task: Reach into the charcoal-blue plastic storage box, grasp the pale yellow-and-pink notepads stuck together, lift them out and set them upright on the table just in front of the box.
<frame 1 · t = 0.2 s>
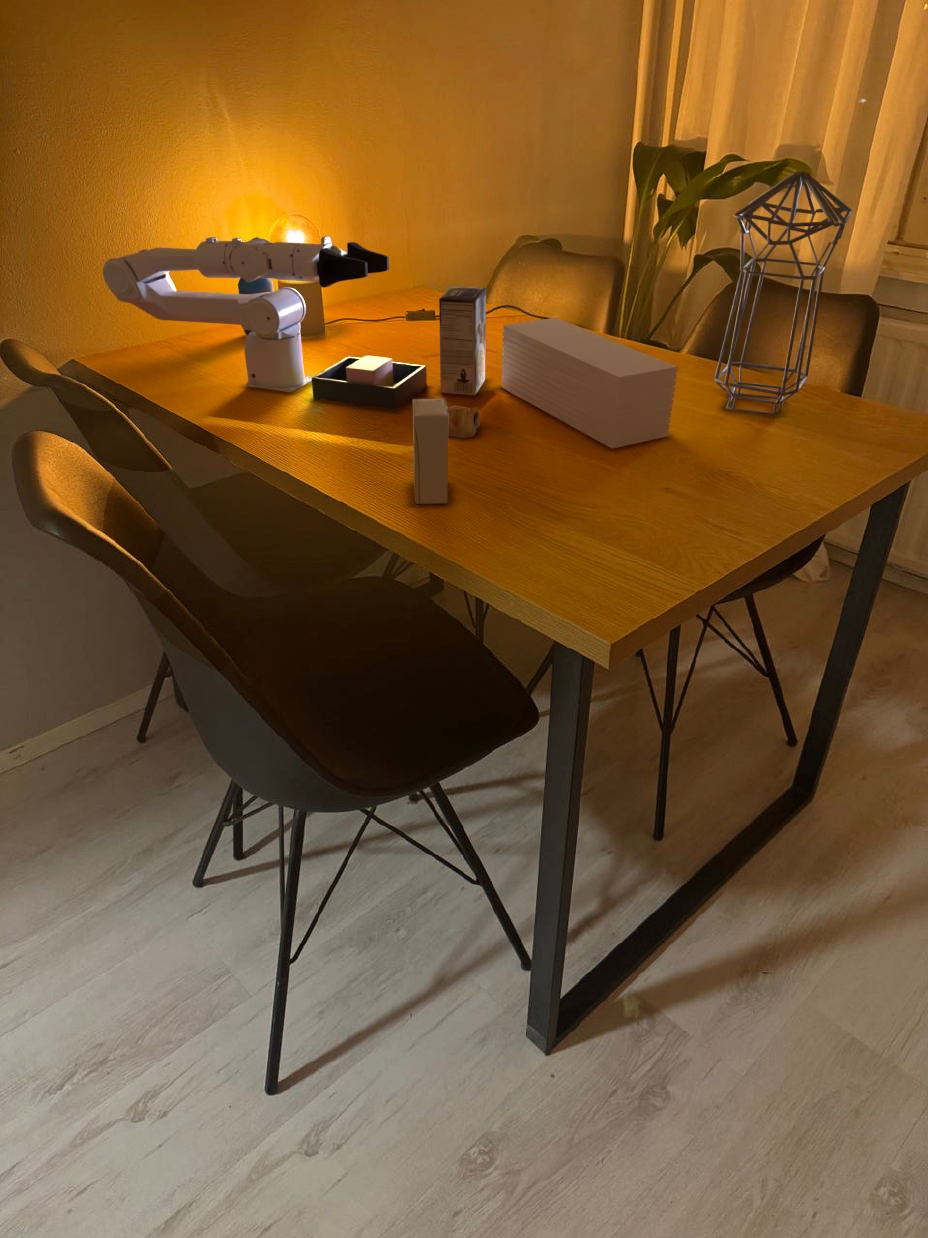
hand: (377, 266, 137), 21 cm above the table, tool horizontal, fingers open, 7 cm apart
notepads: (371, 391, 150), resting on storage box
cosmetic box: (431, 496, 116), on the table
stack of papers: (579, 411, 143), on the table
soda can: (261, 336, 181), on the table
pastry: (452, 431, 136), on the table
coffee box: (463, 388, 153), on the table
storage box: (371, 393, 150), on the table
geometric lantern: (756, 407, 145), on the table
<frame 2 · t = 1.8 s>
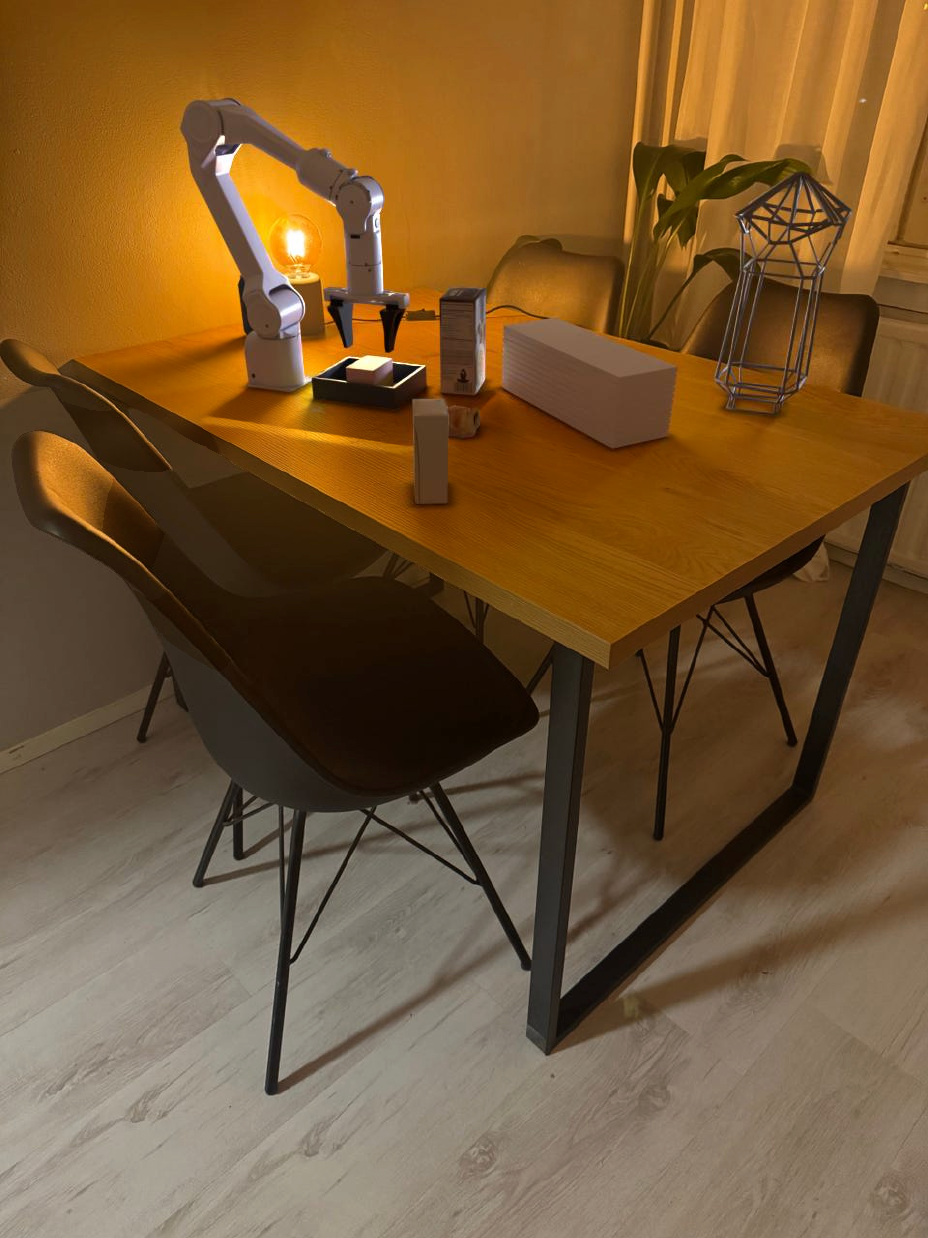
hand: (368, 348, 146), 8 cm above the table, tool pointing down, fingers open, 7 cm apart
nothing on the table moved.
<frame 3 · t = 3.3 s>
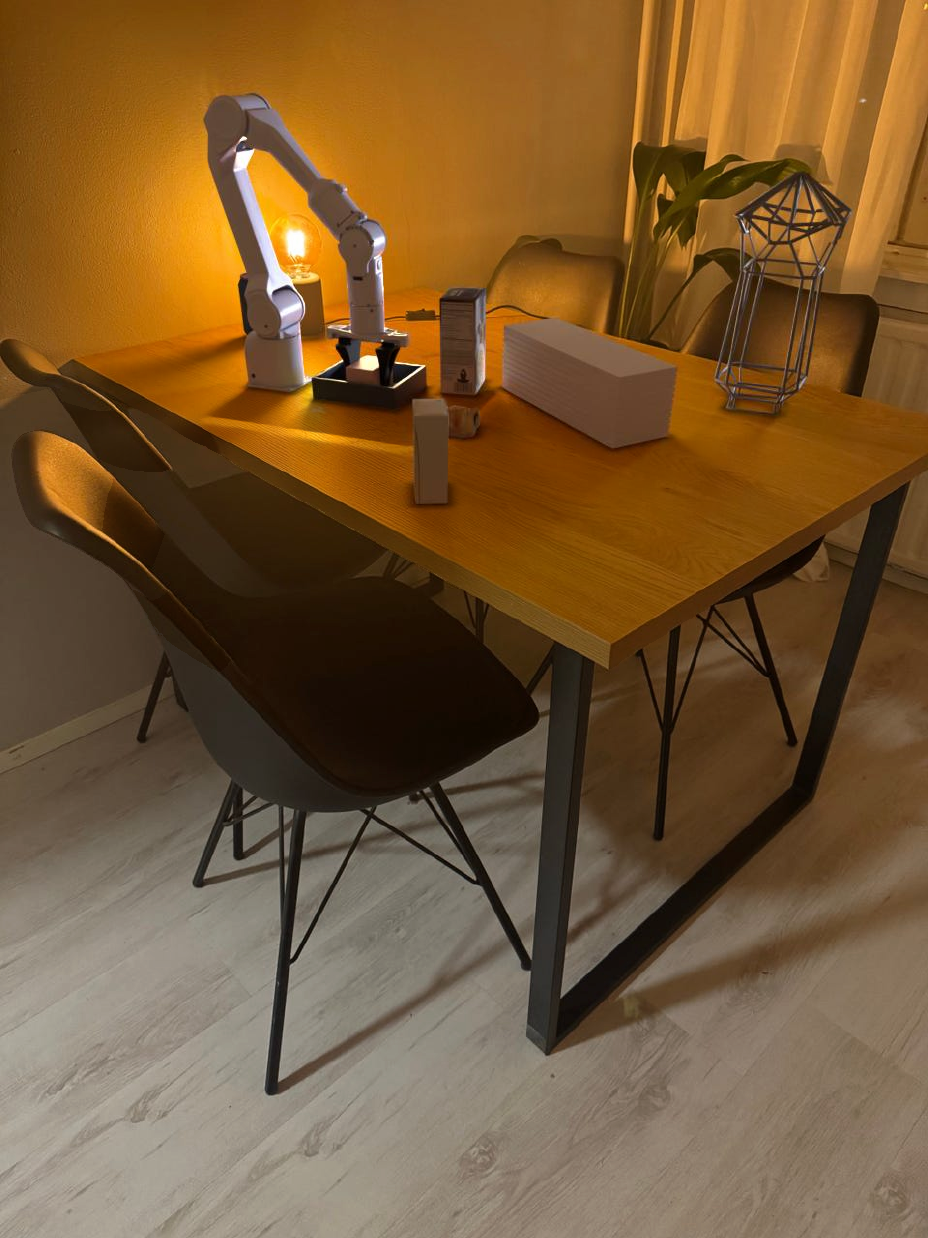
hand: (370, 384, 149), 2 cm above the table, tool pointing down, fingers closed on notepads, 5 cm apart
notepads: (370, 391, 150), resting on storage box, touching gripper
everything else where it was.
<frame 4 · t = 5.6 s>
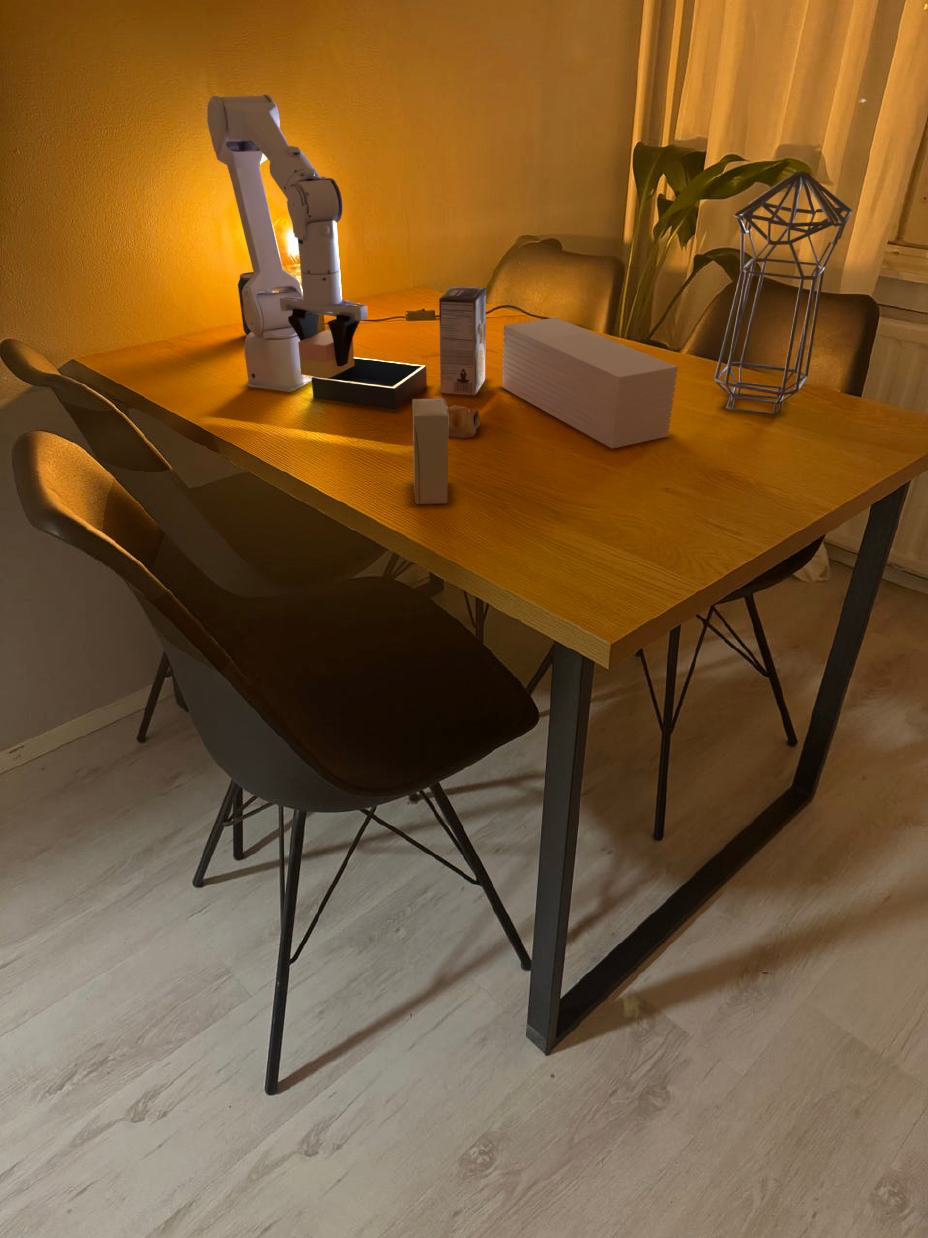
hand: (327, 362, 136), 9 cm above the table, tool pointing down, fingers closed on notepads, 5 cm apart
notepads: (328, 369, 137), point 7 cm above the table, touching gripper
everything else where it was.
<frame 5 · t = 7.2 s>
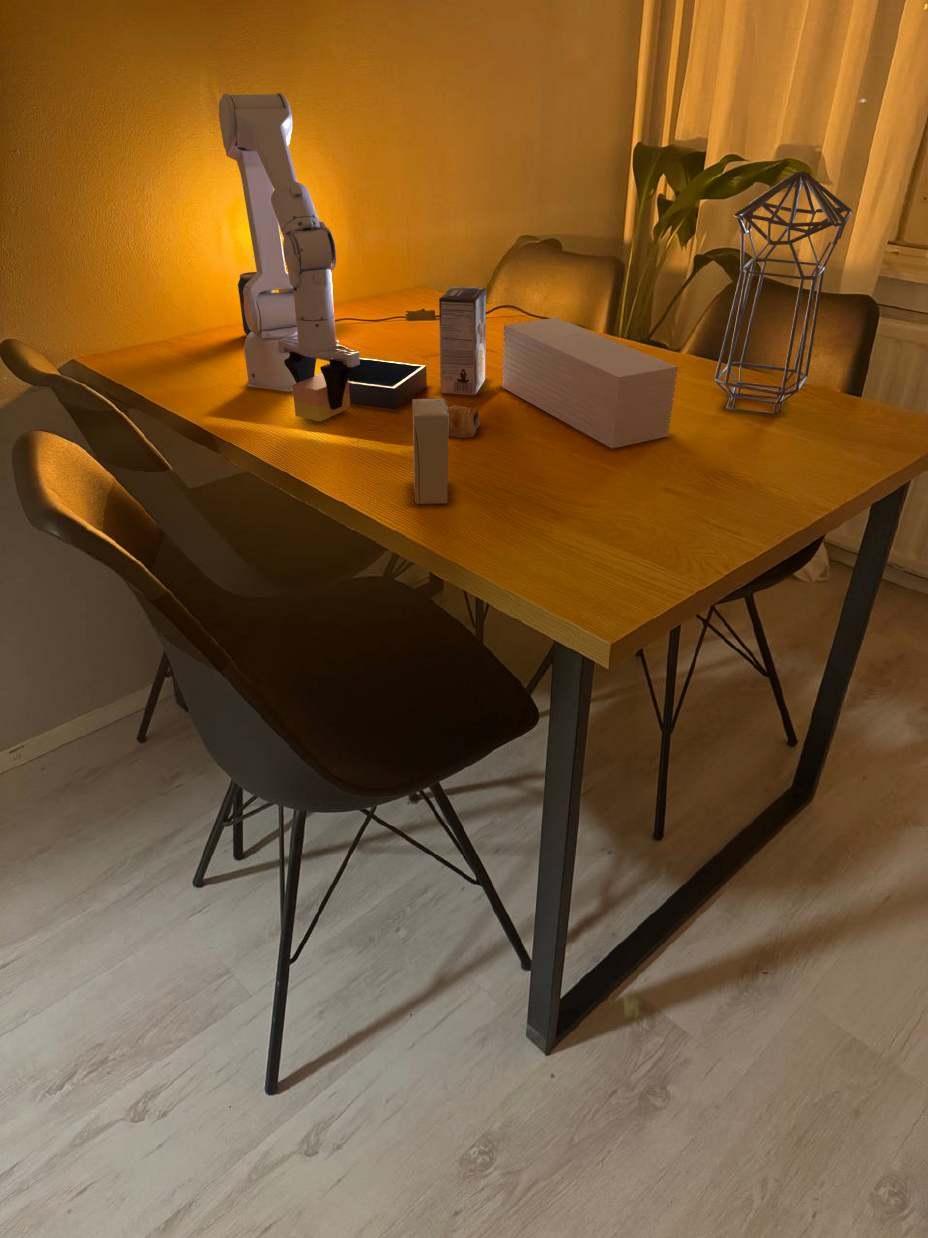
hand: (322, 404, 138), 2 cm above the table, tool pointing down, fingers closed on notepads, 5 cm apart
notepads: (323, 411, 139), point 1 cm above the table, touching gripper
everything else where it was.
when the fingers open (1 cm above the table, at t = 8.1 s): notepads stays where it is, on the table.
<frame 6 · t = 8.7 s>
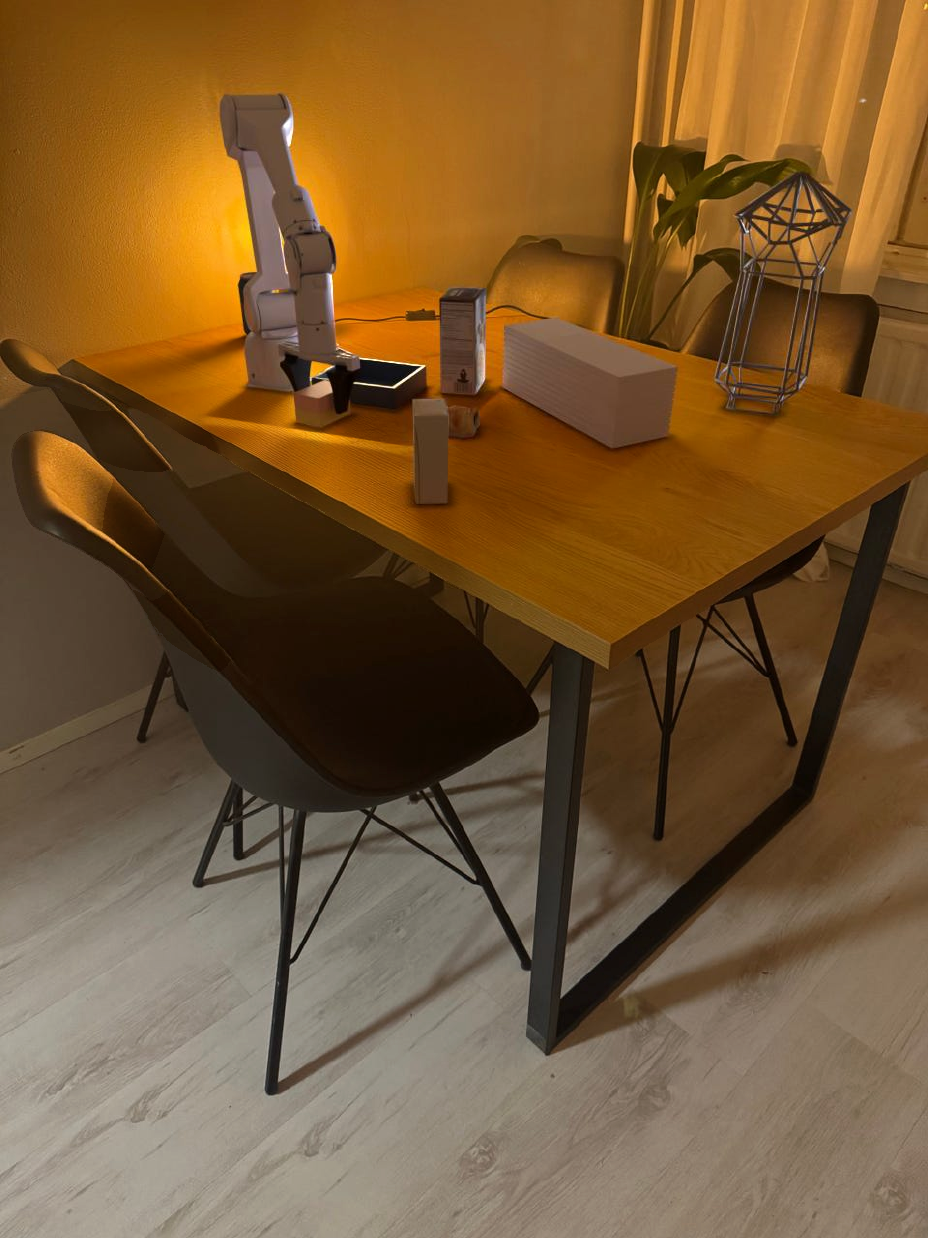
hand: (323, 407, 138), 2 cm above the table, tool pointing down, fingers open, 7 cm apart
notepads: (324, 419, 139), on the table
everything else where it was.
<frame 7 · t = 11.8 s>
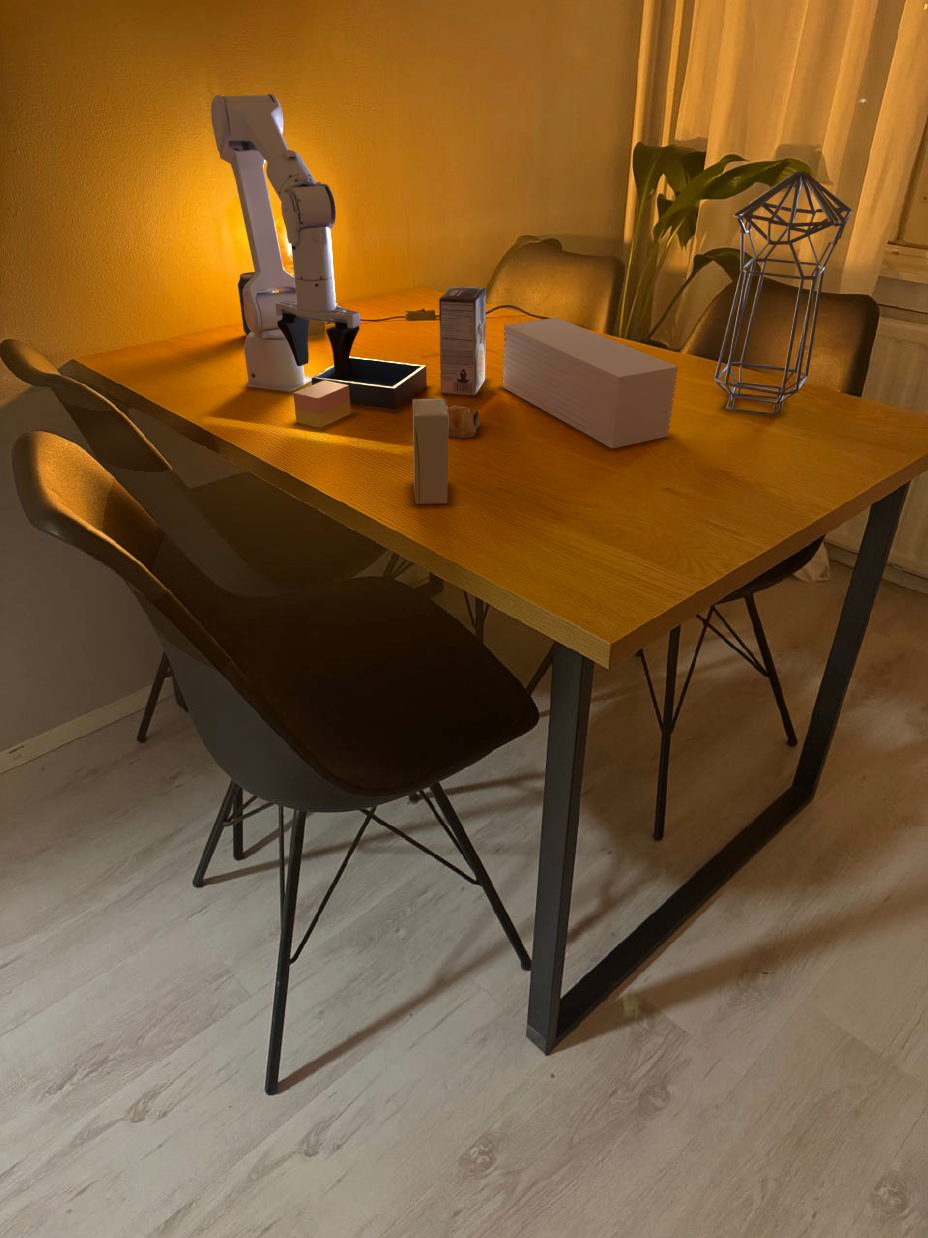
hand: (321, 368, 136), 8 cm above the table, tool pointing down, fingers open, 7 cm apart
nothing on the table moved.
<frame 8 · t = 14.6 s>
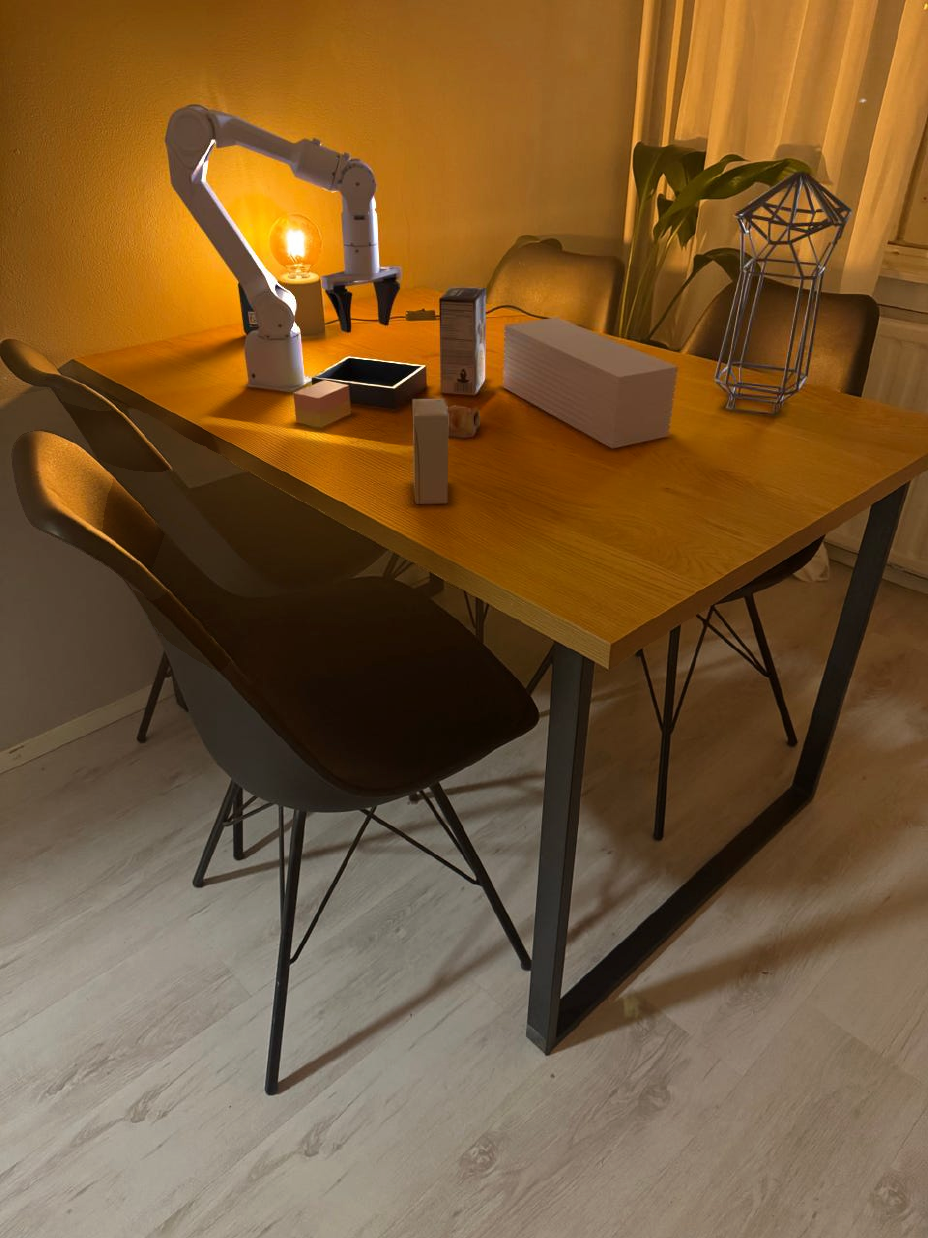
hand: (365, 327, 151), 9 cm above the table, tool pointing down, fingers open, 7 cm apart
nothing on the table moved.
at the end: notepads inside the target area (0.5 cm from its centre), on the table; notepads tilted 0°; the gripper is holding nothing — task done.
